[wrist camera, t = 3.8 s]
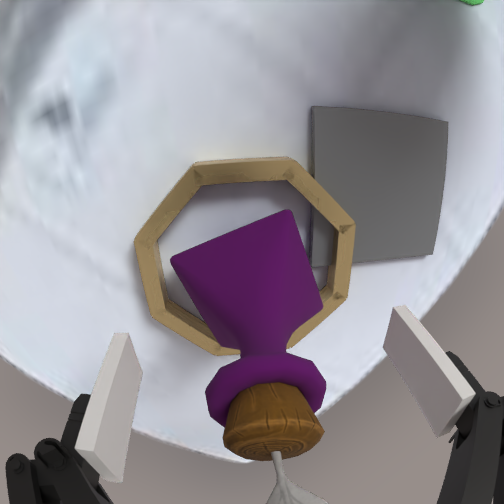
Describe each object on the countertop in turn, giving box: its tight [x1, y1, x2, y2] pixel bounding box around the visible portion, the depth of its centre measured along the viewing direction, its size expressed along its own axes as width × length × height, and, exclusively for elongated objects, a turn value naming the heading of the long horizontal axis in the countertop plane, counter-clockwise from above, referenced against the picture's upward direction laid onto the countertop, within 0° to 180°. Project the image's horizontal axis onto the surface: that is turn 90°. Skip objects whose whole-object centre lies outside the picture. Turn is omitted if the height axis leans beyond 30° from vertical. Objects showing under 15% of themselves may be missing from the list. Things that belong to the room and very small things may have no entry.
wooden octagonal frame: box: [134, 157, 356, 356], centre depth 21 cm, size 14×14×2 cm
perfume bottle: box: [170, 210, 329, 504], centre depth 13 cm, size 8×8×18 cm
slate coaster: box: [309, 106, 448, 267], centre depth 20 cm, size 11×11×1 cm
